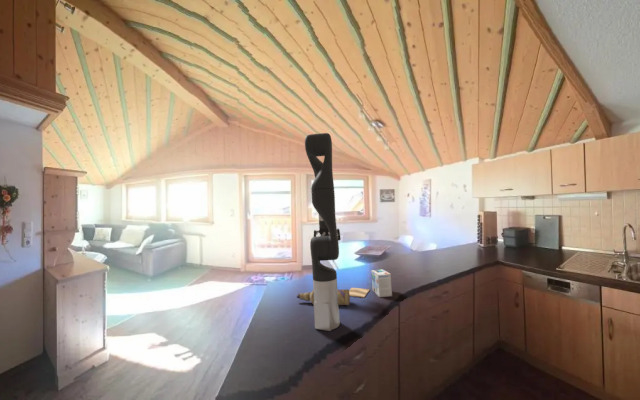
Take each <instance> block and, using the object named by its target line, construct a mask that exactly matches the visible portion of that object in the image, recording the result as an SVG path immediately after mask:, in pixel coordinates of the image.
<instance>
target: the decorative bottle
mask: <svg viewBox="0 0 640 400" xmlns="http://www.w3.org/2000/svg"><path fill="white" fill-rule="evenodd" d="M337 289H338V288H337ZM349 290H350V289H338V306H350V303H351V297H350V294H349ZM296 298H297V299H299V300H301V301H305V302H311V304H312V305H314V291H313V289H312V290H311V292H309V291H307V292H305V293H304V292H300V293H297V295H296Z"/></svg>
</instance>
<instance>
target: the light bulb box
mask: <svg viewBox="0 0 640 400" xmlns="http://www.w3.org/2000/svg"><path fill="white" fill-rule="evenodd" d="M370 272H371V282H372V283H371V287H372V292H374V293H375V295H376V296H377V297H378V298H386V297H393V292H392V291H393V290H392V277H391V276H392V275H391V273H390V272H388V271H387V270H385V269H381V268H379V269H372V270H371V271H370Z"/></svg>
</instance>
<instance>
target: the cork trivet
mask: <svg viewBox="0 0 640 400" xmlns="http://www.w3.org/2000/svg"><path fill="white" fill-rule="evenodd" d="M348 290H349V294H350V298H351V297H352V298H362V299H365V297H366V296H367V295H368V294H369V292H370V291H371V289H370V288H360V287H350V289H348Z"/></svg>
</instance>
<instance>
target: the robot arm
mask: <svg viewBox="0 0 640 400" xmlns="http://www.w3.org/2000/svg"><path fill="white" fill-rule="evenodd" d="M332 141H333V140H332V137H331V134H329V133H327V132H322V133H312V134H307V135H306V136H305V138H304V148H305V149H304V150H305V153H306V157H307V158H308V161H309V163H310V165H311V168H312V170H313V171H312V172H313V175H314V180H313V182H312V185H311V187H310V188H311V189H310V192H311V203H312V207H313V208H314V210H315V211H316V212H317V214H318V227H319V230H316V229H314V230H313V237H311V239H310V256H311V269H312V284H313V285H312V287H313V289H312V290H313V291H314V304H313V314H314V315H313V316H314V318H313V319H314V329H316V330H321V331H326V332H327V331H328V332H331V331H333V330H335V329H338V327H339V326H340V324H341V323H340V311H339V306H340V305H338V276H337V275H338V273H337V270H336V269H334V268H332V267H328V266H326V265H324V264H323V263H322V262H321V261H324V262H325V261H336V260H337V259H339V256H340V246H339V241H341V239H342V237H341V231H340V228H337V227H338V226H337V220H336V199H335V198H336V197H335V196H336V195H335V194H336V193H335V184H334V173H333V142H332ZM318 157H323V162H322V161H321V160H320V158H318ZM318 234H319V235H320V236H317V235H318Z"/></svg>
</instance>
